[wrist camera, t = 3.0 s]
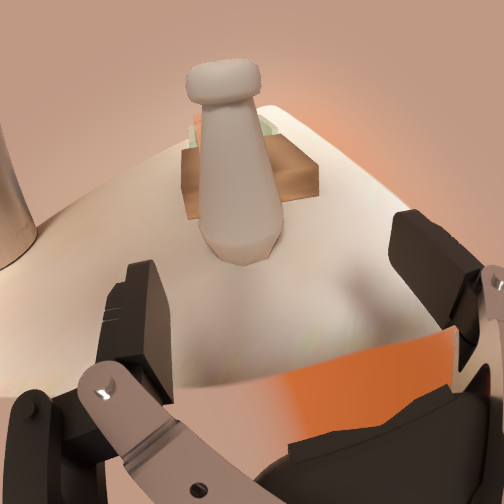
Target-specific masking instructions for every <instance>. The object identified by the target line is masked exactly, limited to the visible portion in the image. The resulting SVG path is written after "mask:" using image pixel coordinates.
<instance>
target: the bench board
mask: <svg viewBox="0 0 504 504" xmlns="http://www.w3.org/2000/svg"><path fill="white" fill-rule="evenodd" d="M264 140H265V144H266V147H267V151H268V155H269V158H270V162H271V166H272V170H273V174H274V177H275V181H276V185H277V189H278V193H279V197H280V201H281V202H284V201H289V200H295V199H301V198H307V197H313V196H319V165H318V164H316V163H315V162H314V161H313V160H312V159H311V158H310V157H308V156H307V155H306V154H305V153H304V152H302V151H301V150H300V149H299V148H298V147H296V146H295V145H294V144H293V143H292V142H290V141H289V140H288V139H287V138H286V137H284V136H283V135H282V134H275V135H267V136H264ZM199 178H200V154H199V148H198V147H194V148H189V149H184V150H182V163H181V189H182V194H183V198H184V203H185V207H186V212H187V216H188V219H193V218H198V217H199Z"/></svg>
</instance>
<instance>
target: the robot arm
mask: <svg viewBox="0 0 504 504" xmlns="http://www.w3.org/2000/svg"><path fill="white" fill-rule="evenodd" d="M37 233H38V232H37V228H36V226H35V224H34V221H33V219H32V216H31V214H30V212H29V209H28V207H27V205H26V202H25V199H24V196H23V194H22V191H21V189H20V186H19V183H18V180H17V178H16V175H15V172H14V169H13V166H12V163H11V160H10V156H9V153H8V150H7V147H6V143H5V140H4V136H3V133H2V129H1V125H0V269H2V268H3V267H5V266H7V265H8V264H10V263H11V262H13V261H14V260H15V259H17V258H18V257H19V256H21V255H22V254H23V253H24V252H25V251H26V250H27V249H28V248H29V247H30V246H31V244H32V243H33V242H34V240H35V238H36V236H37ZM388 256H389V260H390V263H391V265H392V267H393V268H394V269H395V270H396V272H397V273H398V274H399V275H400V276H401V278H402V279H403V280H404V281H405V283H406V284H407V285H408V286H409V288H410V289H411V290H412V291H413V293H414V294H415V295H416V296H417V298H418V299H419V300H420V301H421V303H422V304H423V305H424V307H425V308H426V309H427V310H428V312H429V313H430V314H431V316H432V317H433V318H434V320H435V321H436V322H437V324H438V325H439V326H440V328H441V329H442V330H444V329H446V328H449V327H451V326H453V325H455V326H456V327H457V329H456V331H455V334H454V355H453V373H452V381H451V385H450V388H449V386H448V385H447V384H446V385H444V386H442V387H440V388H438V389H436V390H434V391H432V392H430V393H428V394H426V395H424V396H422V397H419V398H417V399H415V400H414V401H413V402H411V403H410V404H409V405H408V406H406V407H405V408H404V409H403V410H401V411H400V412H399V413H398V414H396V415H395V416H394V417H392V418H391V419H390V420H388V421H387V422H386V423H384V424H383V425H380V426H376V427H368V428H360V429H352V430H341V431H332V432H329V433H326V434H323V435H320V436H316V437H313V438H309V439H306V440H302V441H299V442H295V443H291V444H288V454H287V455H285V456H284V457H282V458H280V459H278V460H277V461H275V462H274V463H272V464H271V465H269V466H268V467H267V468H266V469H265V470H263V471H262V472H261V473H260V474H259V475H258V476H257V477H256V478H255V479H254V480H251V479H250V478H249V477H247V476H246V475H245V474H243V473H242V472H241V471H240V470H238V469H237V468H236V467H234V466H233V465H232V464H230V463H229V462H228V461H227V460H225V459H224V458H223V457H222V456H221V455H219V454H218V453H217V452H216V451H214V450H213V449H212V448H211V447H210V446H209V445H207V444H206V443H205V442H204V441H203V440H202V439H201V438H199V437H198V436H197V435H196V434H195V433H194V432H193V431H191V430H190V429H189V428H188V427H187V426H186V425H184V424H183V423H182V422H181V421H179V420H176V419H174V418H173V417H172V416H171V415H170V414H169V413H168V412H167V411H166V410H165V409H164V408H163V405H167V404H174V399H173V381H172V360H171V327H170V309H169V304H168V300H167V297H166V294H165V291H164V288H163V286H162V283H161V280H160V277H159V274H158V272H157V269H156V266H155V263H154V261H153V260H147V261H142V262H137V263H132V264H129V265H128V268H127V274H126V279H125V282H121V283H116V284H115V286H114V287H113V289H112V290H111V292H110V293H109V295H108V297H107V301H106V306H105V312H104V316H103V323H102V327H101V332H100V338H99V344H98V350H97V356H96V362H95V364H94V365H93V366H91V367H90V368H88V369H87V370H86V371H85V372H84V373H83V375H82V376H81V378H80V380H79V383H78V388H76V389H74V390H72V391H69V392H67V393H64V394H62V395H59V396H57V397H54V398H52V399H50V398H49V397H48V396H47V395H46V394H45V393H44V392H43V391H41V390H37V389H33V390H29V391H26V392H24V393H23V394H21V395H20V396H19V397H18V398H17V400H16V401H15V402H14V404H13V406H12V409H11V413H10V419H9V426H8V433H7V442H6V450H5V460H4V473H3V504H108V500H107V489H106V476H105V461H106V460H109V459H111V458H114V457H117V456H120V457H121V458H122V459H123V461H124V464H123V465H124V467H125V469H126V471H127V472H128V474H129V475H130V476H131V477H132V478H133V480H134V481H135V482H136V483H137V484H138V485H139V487H140V488H141V489H142V490H143V491H144V492H145V493H146V494H147V495H148V497H149V498H150V499H151V500H152V501H153V502H154V503H155V504H504V268H502V267H499V266H495V265H489V266H486V267H484V266H483V265H482V264H481V263H480V262H479V261H478V260H477V259H476V258H475V257H474V256H473V255H472V254H471V253H470V252H469V251H468V250H467V249H466V248H465V247H463V246H462V245H461V244H459V242H458V241H457V240H456V239H455V238H454V237H451V235H450V234H449V233H448V232H447V231H446V230H444V229H443V228H442V227H441V226H439V225H437V224H435V223H433V222H431V221H430V220H429V219H427V218H426V217H425V216H424V215H423V214H422V213H420V212H419V211H418V210H416V209H413V210H407V211H402V212H397V213H396V214H395V215H394V217H393V223H392V230H391V236H390V242H389V248H388Z"/></svg>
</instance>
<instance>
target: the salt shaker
mask: <svg viewBox="0 0 504 504" xmlns="http://www.w3.org/2000/svg"><path fill="white" fill-rule="evenodd" d="M260 89H261V75H260V72H259V68H258V65H256V64H255V63H254V62H253V61H252V60H247V59H228V60H221V61H213V62H207V63H203V64H200V65H197V66H195V67H193V68H191V70H190V71H189V72H188V74H187V75H186V90H187V93H188V97H189V99H190V100H191V102H194V103H197V104H200V105H202V122H201V146H200V178H199V228H200V230H201V233H202V235H203V237H204V239H205V241H206V242H207V244H208V245H209V246H210V247H211V248H212V250H213V251H214V252H215V253H216V255H217V256H218V257H219V258H220V259H221V260H222V261H226V262H230V263H233V264H237V265H241V266H246V265H249V264H252V263H255V262H258V261H260V260H263V259H266V258H268V257H269V255H270V252H271V250H272V248H273V246H274V244H275V242H276V240H277V238H278V237H279V235H280V233H281V231H282V229H283V223H284V217H283V209H282V205H281V201H280V197H279V193H278V189H277V185H276V181H275V177H274V174H273V170H272V166H271V162H270V158H269V155H268V151H267V147H266V144H265V140H264V136H263V133H262V129H261V125H260V122H259V118H258V115H257V111H256V108H255V104H254V101H253V96H255V95H257V94H259V93H260Z"/></svg>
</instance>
